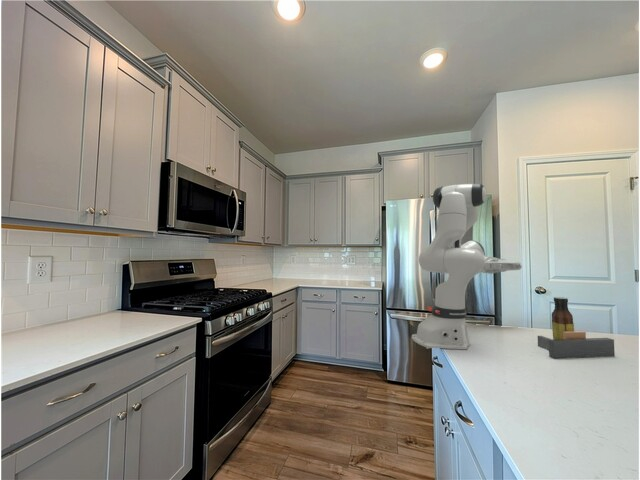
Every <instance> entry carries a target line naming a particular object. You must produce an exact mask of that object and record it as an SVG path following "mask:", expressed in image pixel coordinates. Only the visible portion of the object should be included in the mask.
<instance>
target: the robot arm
mask: <svg viewBox="0 0 640 480" xmlns="http://www.w3.org/2000/svg"><path fill="white" fill-rule="evenodd" d="M486 198H487V191H486V188H485V186H484V185H483V184H482V183H478V182H477V183H475V182H474V183H462V184H452V185H451V184H450V185H446V186H439V187H437V188H435V189H434V191H433V194H432V201H433V205H434V206H435V208H438V215H437V216H438V217H437V226H436V232H435V235H434V238H433V239H432V241H431V243H430V244H428V246H427V247H426V248H424V249H423V250H422V251H421V252H420V254H419V256H418V263H419V266H420V267H421V269H422V270H423V271H426V272H430V273H435V274H437V273H438V274H448V277H447V280H446V281H442V282H441V283H439V284H438V285H436V287H435V291H434V292H435V304H434V307H432V306H430V305H428V306H427V307H426V310H427V311H428V312H431V314H430V315H429V316H427V317H426V318H425V319H424V320H422V321H421V322H420V323H418V326H417V329H416V333H413V334H412V335H411V339H412V341H414V342H415V343H417V344H418V345H420V346H422V347H425V348H427V349H444V350H445V349H449V350H468V347H469V346H470V345H471V342H470V338H469V335H468V330H467V308H466V293H467V291H466V290H467V287H468V284H469V283H470V281H471V280H472V278H474V277H475V276H476V275H478V274H479V273H481V274H482V273H483V274H489V275H492V274H497V273H502V272H507V271H520V270H521V269H522V268H523V265H522V264H521V262H519V261H513V260H508V259H506V258H505V259H504V258H497V257H494V256H486V253H485V249H484V247H483V245H482V244H481V243H480V242H478V241H476V240H469V241H466V242H465V243H463V244H462V238H463V237H464V236H465V234H466V233H467V231H468V230H469V229H470V228H472V227H473V226H474V225H475V224H476V223H477V220H478V216H479V215H478V214H479V211H478V207H480V206H482V205H483V204H484V203H485V202H486Z"/></svg>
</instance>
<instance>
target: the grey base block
mask: <svg viewBox="0 0 640 480" xmlns="http://www.w3.org/2000/svg"><path fill="white" fill-rule="evenodd" d="M537 346H538V347H540V348H542V349H545V350H548V356H549V358H552V359H554V360H556V359H558V360H559V359H581V358H582V359H583V358H585V359H587V358H588V359H589V358H608V357H609V358H610V357H615V353H616V352H615V339H613V338H611V337H590V338H589V337H588V338H587V337H586V338H582V339H553V338H550V337H546V336H544V335H537Z"/></svg>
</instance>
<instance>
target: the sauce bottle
mask: <svg viewBox="0 0 640 480" xmlns="http://www.w3.org/2000/svg"><path fill="white" fill-rule="evenodd" d="M553 301H554V309H553V311H552V312H551V330H552V331H551V332H552V339H563V332H568V331H575V323H574V317H573V315H572V313H571V312H570V309H569V307H568V306H569V305H568V302H569V298H567V297H565V296H554V297H553Z"/></svg>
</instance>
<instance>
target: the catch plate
mask: <svg viewBox="0 0 640 480" xmlns="http://www.w3.org/2000/svg"><path fill="white" fill-rule="evenodd" d="M582 338H587V334H586V331H582V330H579V331H578V330H574V331H568V332H563V339H582Z"/></svg>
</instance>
